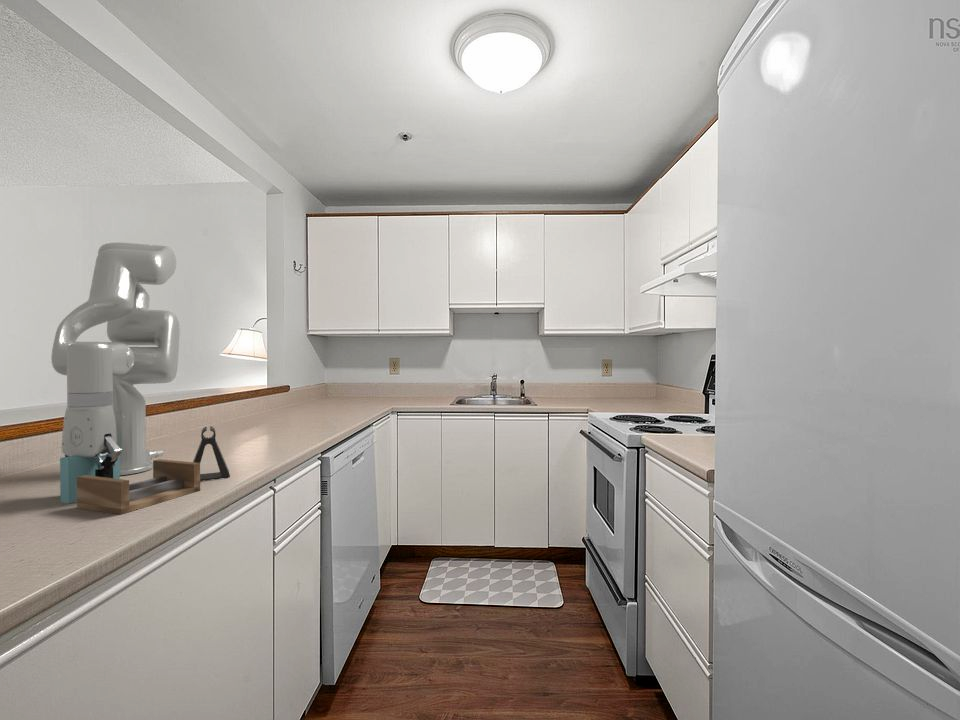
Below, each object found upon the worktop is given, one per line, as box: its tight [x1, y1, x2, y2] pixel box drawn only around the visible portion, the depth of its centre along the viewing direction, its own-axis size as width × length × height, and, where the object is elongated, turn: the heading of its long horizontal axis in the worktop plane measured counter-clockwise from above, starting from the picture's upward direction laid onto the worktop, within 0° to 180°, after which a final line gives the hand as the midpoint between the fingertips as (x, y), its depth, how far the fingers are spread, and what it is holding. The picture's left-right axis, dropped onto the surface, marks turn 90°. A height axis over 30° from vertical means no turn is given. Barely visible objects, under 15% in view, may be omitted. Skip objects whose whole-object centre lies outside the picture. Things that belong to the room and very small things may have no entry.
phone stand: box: [192, 426, 231, 482], centre depth 118 cm, size 9×6×12 cm, turn 119°
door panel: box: [59, 452, 121, 504], centre depth 102 cm, size 10×2×9 cm, turn 161°
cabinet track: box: [76, 458, 201, 515], centre depth 100 cm, size 17×12×6 cm
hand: (91, 485), depth 102 cm, fingers open, 7 cm apart
